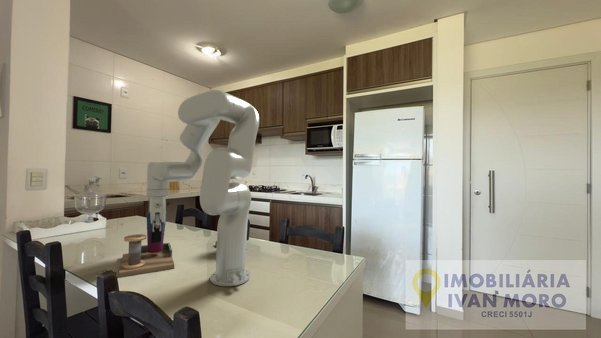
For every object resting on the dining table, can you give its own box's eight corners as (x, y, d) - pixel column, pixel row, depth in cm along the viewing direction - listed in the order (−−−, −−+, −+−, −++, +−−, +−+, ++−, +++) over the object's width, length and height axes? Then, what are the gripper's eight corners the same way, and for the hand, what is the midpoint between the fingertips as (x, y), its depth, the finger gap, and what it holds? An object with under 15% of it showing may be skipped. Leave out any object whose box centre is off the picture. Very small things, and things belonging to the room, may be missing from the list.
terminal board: (174, 268, 89) (175, 236, 89) (118, 277, 80) (120, 241, 80) (169, 251, 106) (170, 224, 106) (122, 257, 97) (124, 228, 97)
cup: (168, 248, 100) (170, 211, 100) (157, 254, 93) (159, 214, 94) (153, 247, 101) (154, 210, 101) (140, 253, 94) (142, 213, 94)
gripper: (170, 195, 92) (168, 244, 92) (166, 191, 107) (164, 233, 107) (146, 196, 88) (144, 247, 88) (146, 191, 103) (144, 235, 102)
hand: (155, 239), depth 97 cm, fingers closed on cup, 6 cm apart
